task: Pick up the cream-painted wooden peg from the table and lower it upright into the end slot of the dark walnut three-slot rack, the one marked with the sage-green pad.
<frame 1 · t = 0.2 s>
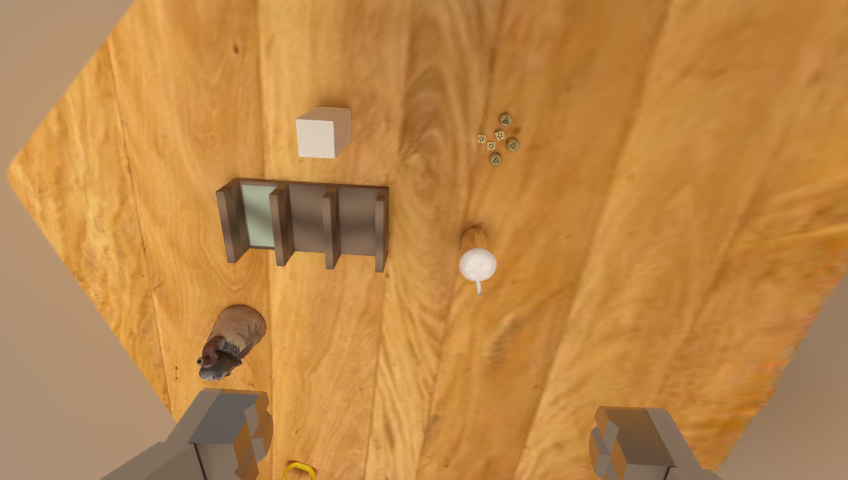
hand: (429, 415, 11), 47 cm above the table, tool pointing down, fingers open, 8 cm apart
slot rack: (314, 217, 60), on the table
figurine: (244, 321, 69), on the table
watch: (303, 465, 83), on the table
peg: (335, 123, 55), on the table
dice set: (499, 139, 55), on the table
milkshake: (474, 239, 61), on the table
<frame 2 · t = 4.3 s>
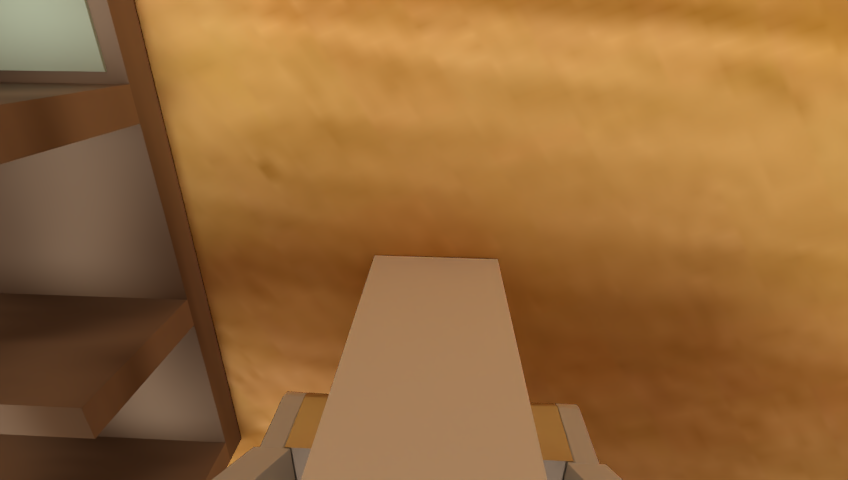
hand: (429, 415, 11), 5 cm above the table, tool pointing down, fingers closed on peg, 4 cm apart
slot rack: (32, 203, 14), on the table
peg: (434, 308, 15), on the table, touching gripper
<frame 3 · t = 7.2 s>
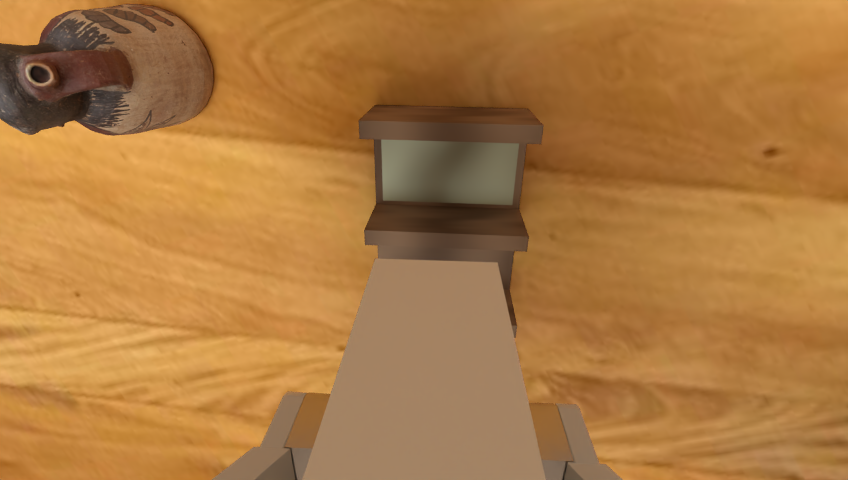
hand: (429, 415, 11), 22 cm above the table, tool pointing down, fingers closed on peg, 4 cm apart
slot rack: (445, 248, 33), on the table
figurine: (165, 66, 29), on the table
peg: (434, 311, 15), point 17 cm above the table, touching gripper
when the fingers open (6 cm above the table, at t = 10.3 s): peg stays where it is, resting on slot rack.
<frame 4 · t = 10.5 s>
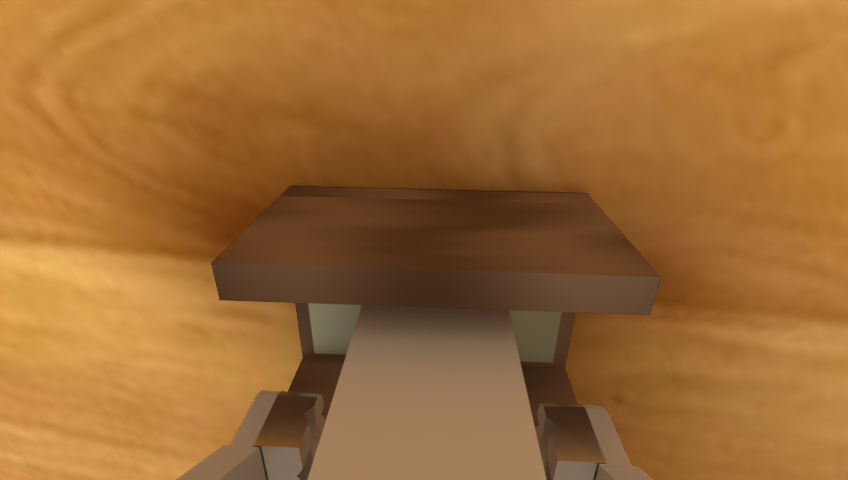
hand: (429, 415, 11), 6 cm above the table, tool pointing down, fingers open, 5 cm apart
slot rack: (431, 414, 19), on the table
peg: (435, 306, 15), point 1 cm above the table, touching slot rack
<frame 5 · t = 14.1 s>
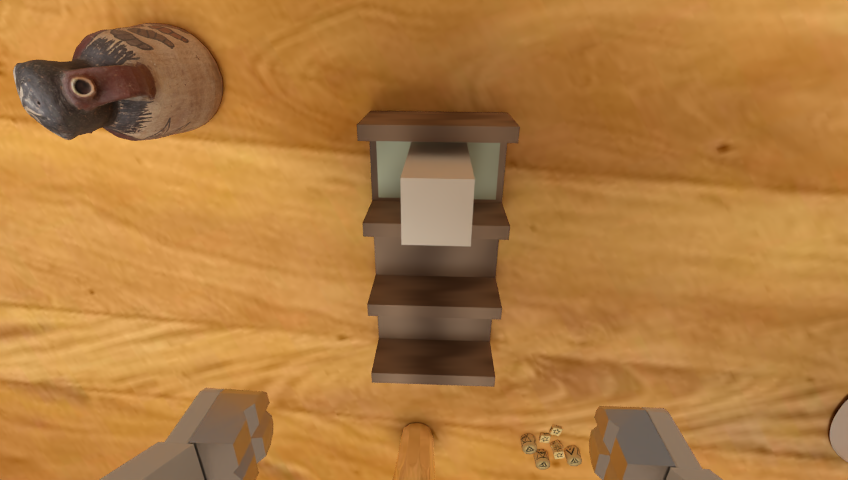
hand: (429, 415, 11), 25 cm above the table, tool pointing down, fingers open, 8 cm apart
slot rack: (436, 240, 36), on the table
figurine: (178, 78, 31), on the table
peg: (438, 168, 32), point 1 cm above the table, touching slot rack
dice set: (545, 438, 46), on the table
milkshake: (413, 432, 46), on the table
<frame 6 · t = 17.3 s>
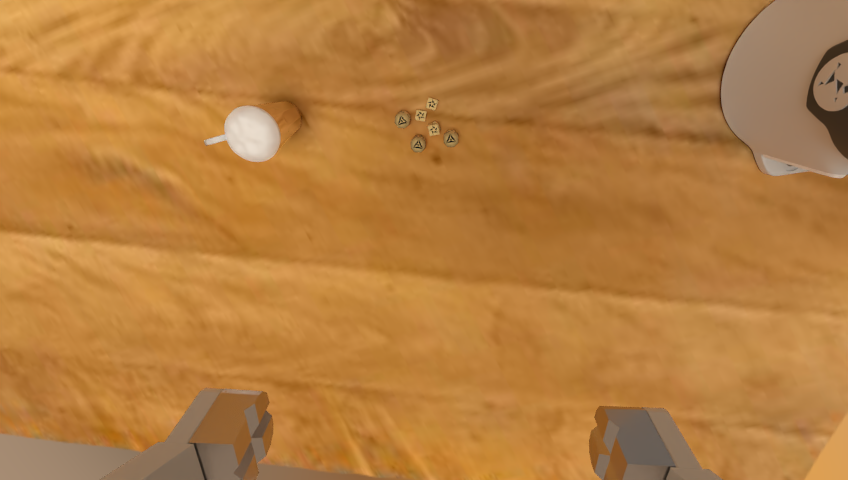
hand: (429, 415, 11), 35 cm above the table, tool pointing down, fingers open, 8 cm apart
dice set: (425, 126, 43), on the table
milkshake: (282, 117, 43), on the table
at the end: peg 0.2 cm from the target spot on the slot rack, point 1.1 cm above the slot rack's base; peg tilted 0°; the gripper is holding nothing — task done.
